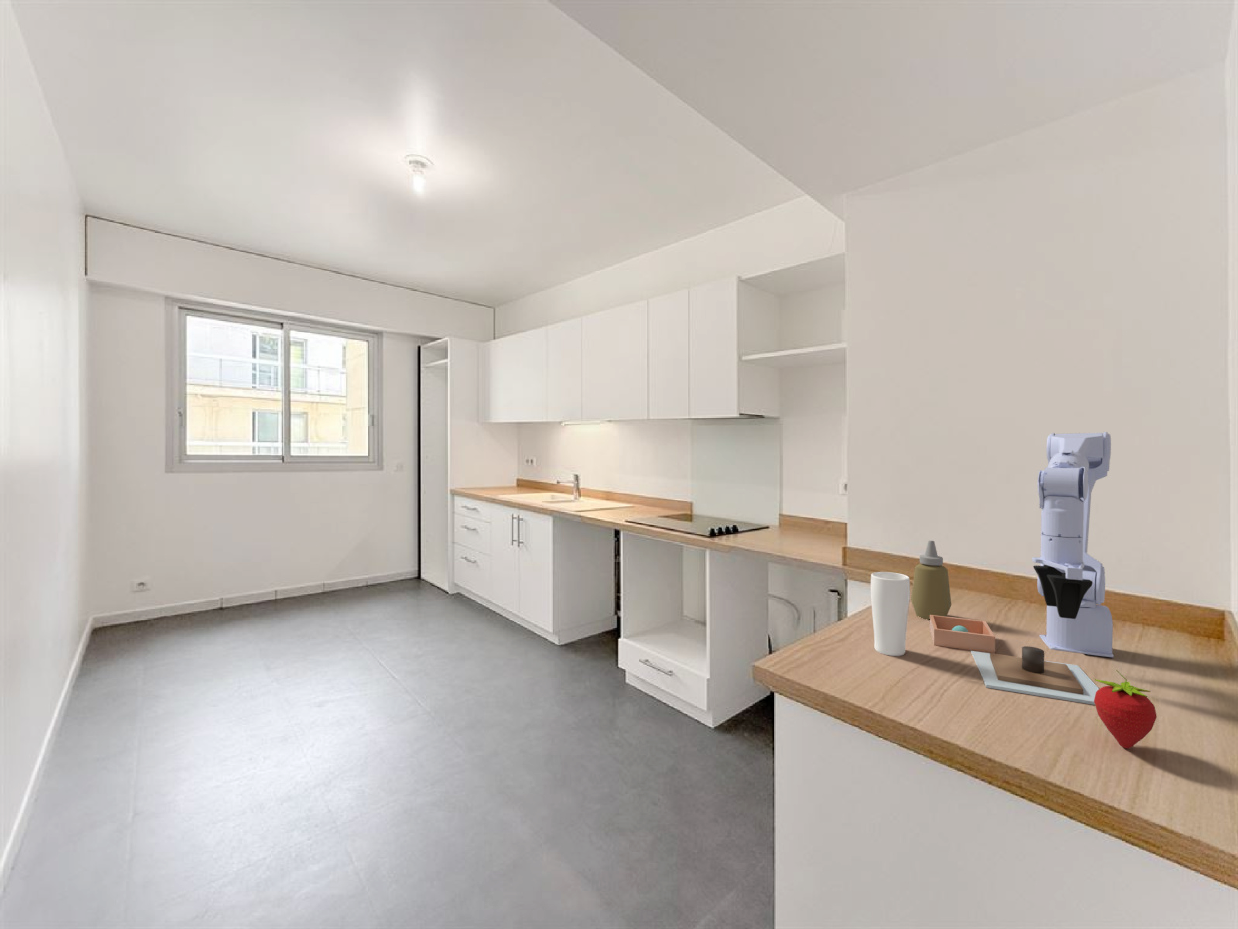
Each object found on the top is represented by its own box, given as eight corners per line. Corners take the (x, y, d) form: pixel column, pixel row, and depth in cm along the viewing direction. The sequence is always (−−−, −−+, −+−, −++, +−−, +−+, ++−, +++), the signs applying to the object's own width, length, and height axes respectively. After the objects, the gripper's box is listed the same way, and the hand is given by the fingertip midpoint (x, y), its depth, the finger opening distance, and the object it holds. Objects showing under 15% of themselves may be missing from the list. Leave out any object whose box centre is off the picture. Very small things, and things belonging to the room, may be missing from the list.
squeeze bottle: (951, 616, 123) (951, 539, 122) (951, 626, 116) (951, 545, 115) (912, 610, 127) (912, 537, 127) (909, 619, 120) (910, 542, 120)
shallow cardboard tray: (985, 637, 109) (985, 621, 109) (994, 654, 100) (995, 636, 100) (929, 630, 113) (929, 614, 113) (934, 646, 104) (934, 629, 104)
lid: (1066, 668, 92) (1066, 644, 92) (1083, 694, 82) (1083, 667, 82) (989, 657, 97) (990, 634, 97) (997, 680, 88) (998, 654, 88)
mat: (1077, 668, 93) (1077, 665, 93) (1113, 708, 79) (1113, 704, 79) (970, 653, 101) (970, 650, 101) (986, 687, 86) (986, 684, 86)
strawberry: (1094, 751, 68) (1095, 676, 68) (1092, 728, 74) (1093, 658, 73) (1159, 769, 64) (1161, 689, 64) (1151, 743, 70) (1153, 669, 69)
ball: (967, 639, 107) (967, 624, 107) (970, 644, 104) (970, 629, 104) (950, 637, 108) (950, 622, 108) (952, 641, 106) (952, 627, 106)
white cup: (914, 660, 97) (915, 580, 97) (875, 658, 99) (876, 579, 98) (902, 647, 104) (903, 572, 104) (866, 644, 105) (866, 571, 105)
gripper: (1023, 528, 101) (1022, 598, 101) (1044, 539, 88) (1043, 620, 88) (1070, 530, 97) (1068, 603, 98) (1099, 542, 84) (1098, 626, 85)
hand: (1060, 611), depth 93 cm, fingers open, 7 cm apart
